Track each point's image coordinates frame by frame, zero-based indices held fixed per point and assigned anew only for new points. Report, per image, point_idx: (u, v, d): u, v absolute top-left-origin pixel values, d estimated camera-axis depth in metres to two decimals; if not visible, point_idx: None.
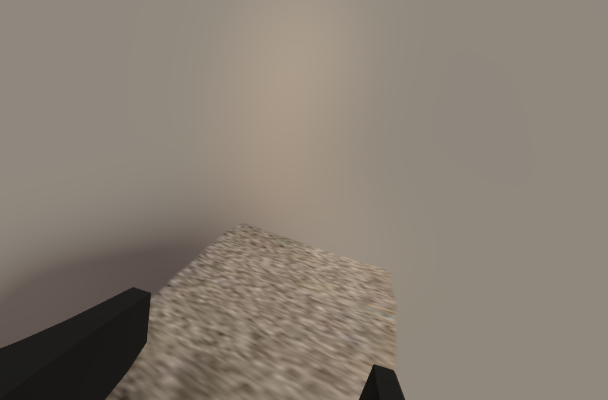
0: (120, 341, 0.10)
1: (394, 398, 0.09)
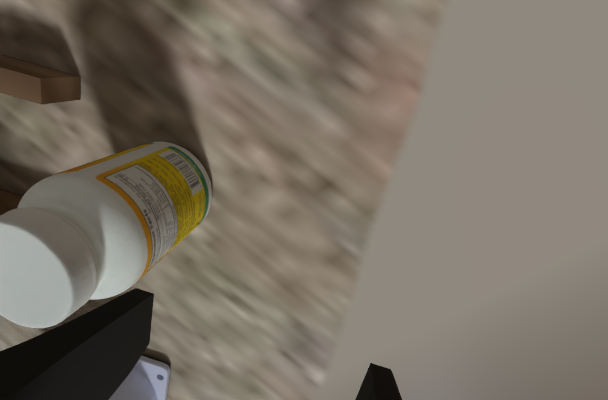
0: (122, 342, 0.10)
1: (391, 397, 0.09)
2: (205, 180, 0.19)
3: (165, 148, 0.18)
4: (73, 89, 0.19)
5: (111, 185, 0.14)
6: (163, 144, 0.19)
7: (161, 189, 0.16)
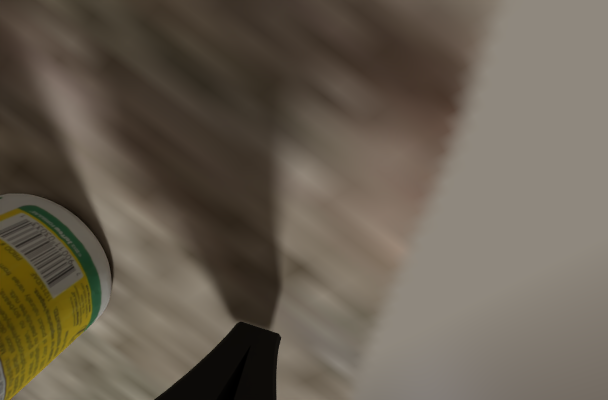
0: (239, 381, 0.10)
1: (263, 356, 0.10)
2: (92, 259, 0.11)
3: (14, 210, 0.11)
4: None
5: None
6: (16, 201, 0.11)
7: None
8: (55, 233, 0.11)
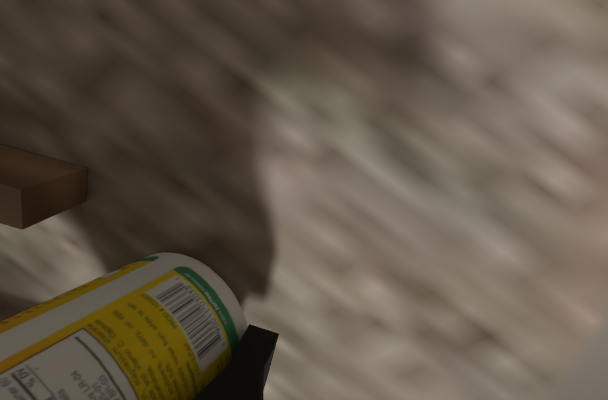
0: None
1: (252, 352, 0.10)
2: (235, 328, 0.11)
3: (170, 271, 0.10)
4: (76, 189, 0.12)
5: None
6: (171, 262, 0.11)
7: (117, 390, 0.07)
8: (205, 298, 0.10)
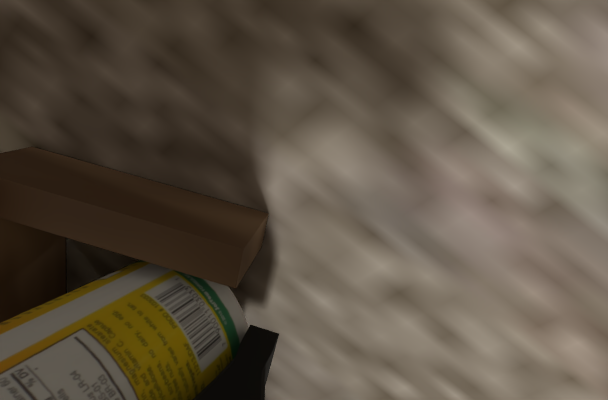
0: None
1: (253, 352, 0.10)
2: (235, 328, 0.11)
3: (170, 271, 0.11)
4: (260, 237, 0.11)
5: None
6: None
7: (118, 390, 0.07)
8: (205, 298, 0.10)
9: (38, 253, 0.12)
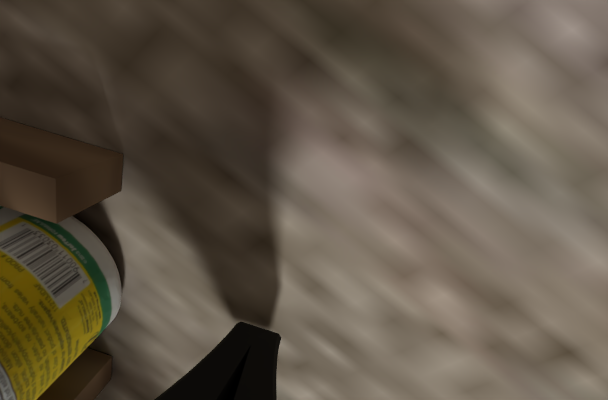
0: (239, 381, 0.10)
1: (264, 355, 0.10)
2: (98, 265, 0.11)
3: (15, 218, 0.10)
4: (111, 178, 0.11)
5: None
6: None
7: None
8: (58, 241, 0.10)
9: None
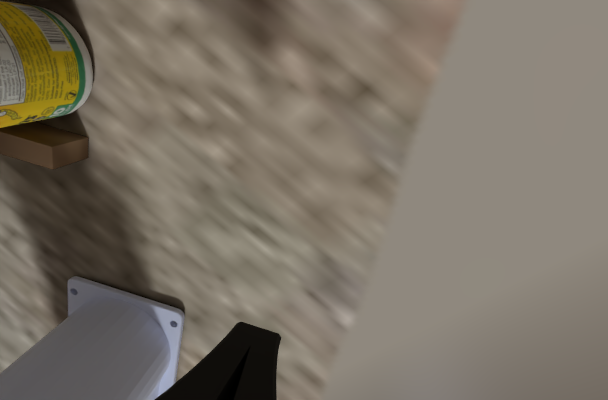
0: (239, 381, 0.10)
1: (263, 356, 0.10)
2: (78, 45, 0.18)
3: None
4: None
5: None
6: None
7: None
8: (53, 20, 0.17)
9: None
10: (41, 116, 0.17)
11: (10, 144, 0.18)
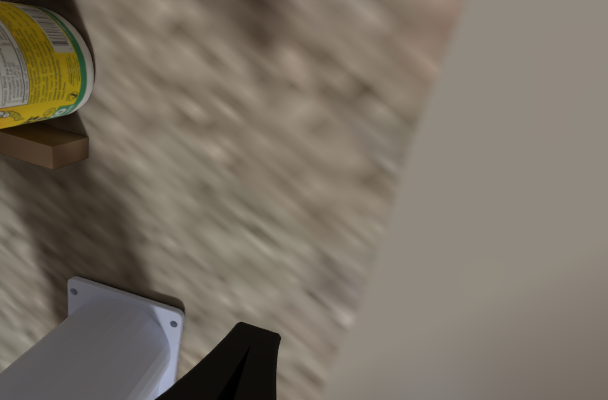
0: (239, 381, 0.10)
1: (263, 356, 0.10)
2: (79, 47, 0.18)
3: (29, 5, 0.17)
4: None
5: None
6: (29, 5, 0.17)
7: (0, 26, 0.14)
8: (55, 22, 0.17)
9: None
10: (42, 117, 0.17)
11: (10, 144, 0.18)
